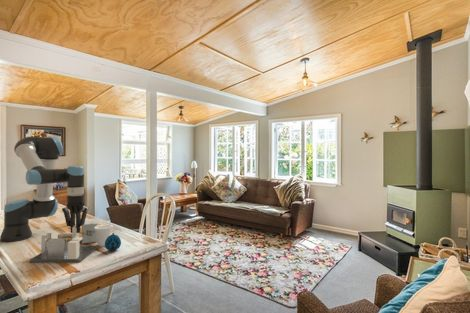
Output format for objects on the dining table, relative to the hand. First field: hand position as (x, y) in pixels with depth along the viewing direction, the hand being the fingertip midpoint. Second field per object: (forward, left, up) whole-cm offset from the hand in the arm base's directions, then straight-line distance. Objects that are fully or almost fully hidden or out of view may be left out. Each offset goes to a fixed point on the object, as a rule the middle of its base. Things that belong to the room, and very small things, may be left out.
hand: (75, 238), depth 136 cm
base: (-5, 0, -9) cm, 10 cm away
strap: (-6, 0, -1) cm, 6 cm away
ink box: (-3, +22, -9) cm, 24 cm away
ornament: (+17, +6, -9) cm, 20 cm away
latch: (+3, -6, -7) cm, 10 cm away
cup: (+8, +15, -9) cm, 19 cm away
